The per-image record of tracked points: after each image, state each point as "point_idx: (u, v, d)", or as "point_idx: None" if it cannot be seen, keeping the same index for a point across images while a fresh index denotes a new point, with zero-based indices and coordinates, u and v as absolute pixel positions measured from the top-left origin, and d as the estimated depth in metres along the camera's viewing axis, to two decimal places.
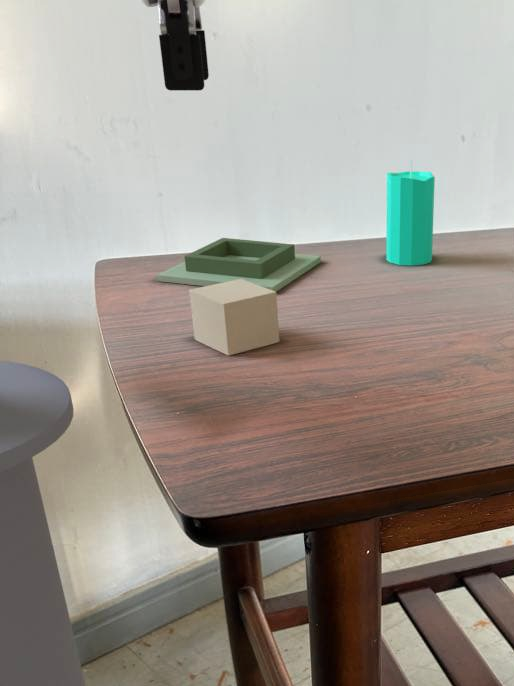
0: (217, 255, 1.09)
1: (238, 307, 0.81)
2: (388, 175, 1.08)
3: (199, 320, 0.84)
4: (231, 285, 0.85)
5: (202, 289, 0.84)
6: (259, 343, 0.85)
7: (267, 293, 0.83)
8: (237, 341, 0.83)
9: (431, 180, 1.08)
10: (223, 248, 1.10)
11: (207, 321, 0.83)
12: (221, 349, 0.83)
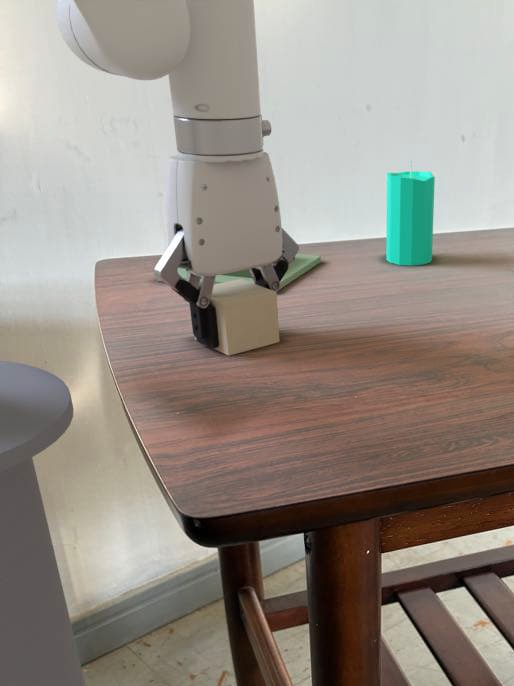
0: None
1: (239, 307, 0.81)
2: (388, 175, 1.08)
3: None
4: (232, 285, 0.85)
5: None
6: (259, 343, 0.85)
7: (267, 293, 0.83)
8: (237, 341, 0.83)
9: (431, 180, 1.08)
10: None
11: None
12: (221, 349, 0.83)
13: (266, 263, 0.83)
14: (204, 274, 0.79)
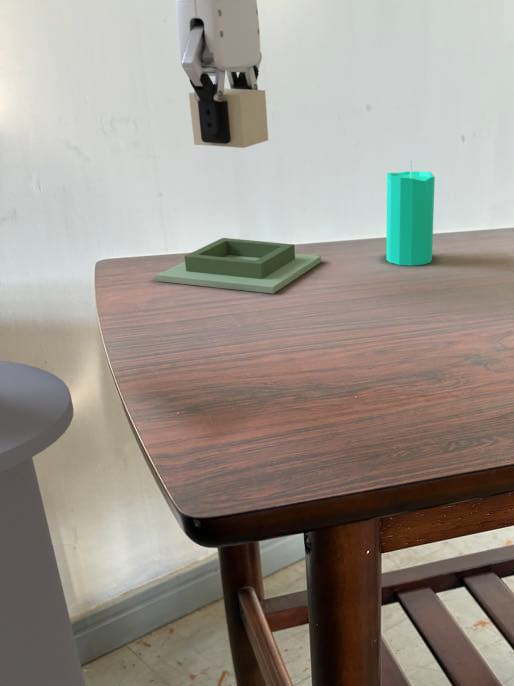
0: (217, 255, 1.09)
1: (247, 101, 0.92)
2: (388, 175, 1.08)
3: None
4: None
5: None
6: (258, 139, 0.95)
7: (259, 91, 0.94)
8: (247, 134, 0.93)
9: (431, 180, 1.08)
10: (223, 248, 1.10)
11: None
12: (234, 143, 0.93)
13: (253, 64, 0.94)
14: (222, 67, 0.88)
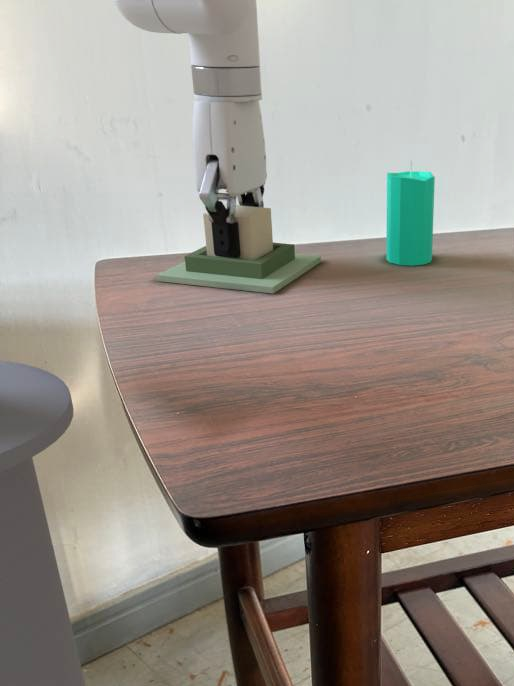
0: None
1: (255, 221, 1.03)
2: (388, 175, 1.08)
3: None
4: None
5: None
6: (265, 251, 1.06)
7: (266, 209, 1.05)
8: (256, 249, 1.04)
9: (431, 180, 1.08)
10: None
11: None
12: (243, 257, 1.04)
13: (260, 185, 1.05)
14: (234, 194, 0.99)
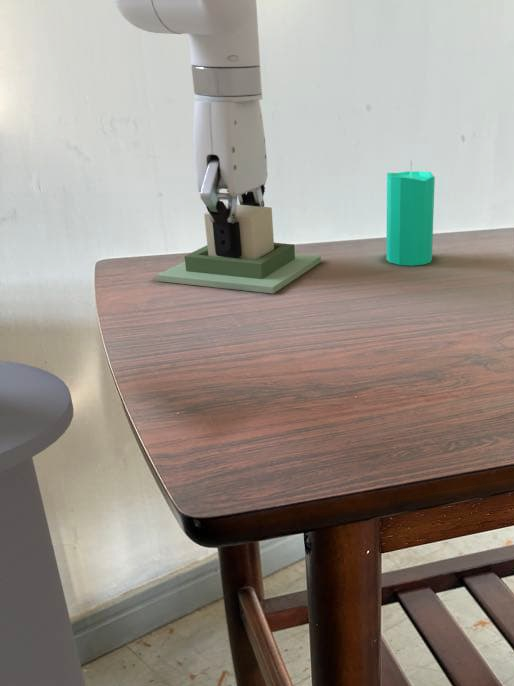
0: None
1: (256, 220, 1.03)
2: (388, 175, 1.08)
3: None
4: None
5: None
6: (266, 250, 1.07)
7: (267, 209, 1.05)
8: (257, 248, 1.04)
9: (431, 180, 1.08)
10: None
11: None
12: (244, 257, 1.04)
13: (260, 185, 1.05)
14: (234, 194, 0.99)
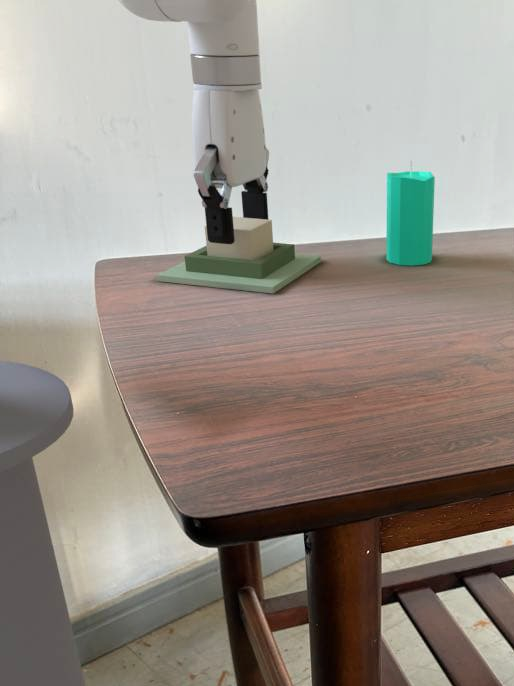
0: None
1: (257, 233, 1.03)
2: (388, 175, 1.08)
3: (217, 250, 1.04)
4: None
5: None
6: None
7: (267, 221, 1.06)
8: None
9: (431, 180, 1.08)
10: None
11: (227, 249, 1.04)
12: None
13: (259, 176, 1.04)
14: (233, 184, 0.99)
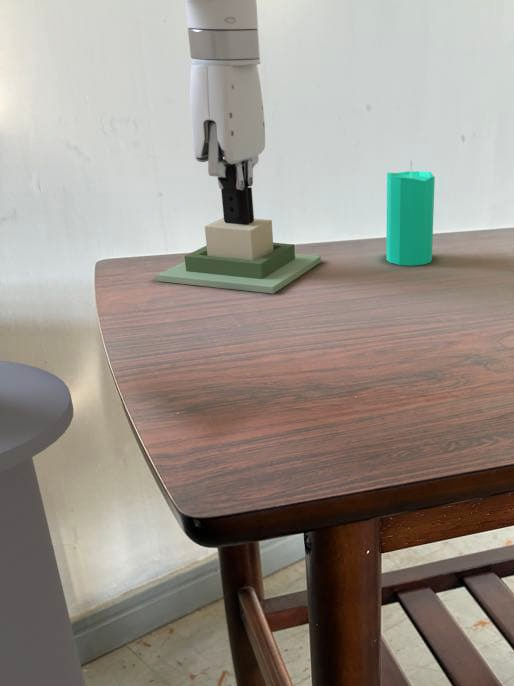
0: None
1: (257, 233, 1.03)
2: (388, 175, 1.08)
3: (217, 250, 1.04)
4: None
5: (214, 224, 1.04)
6: None
7: (267, 221, 1.06)
8: None
9: (431, 180, 1.08)
10: None
11: (227, 249, 1.04)
12: None
13: (258, 153, 1.03)
14: (232, 161, 0.97)
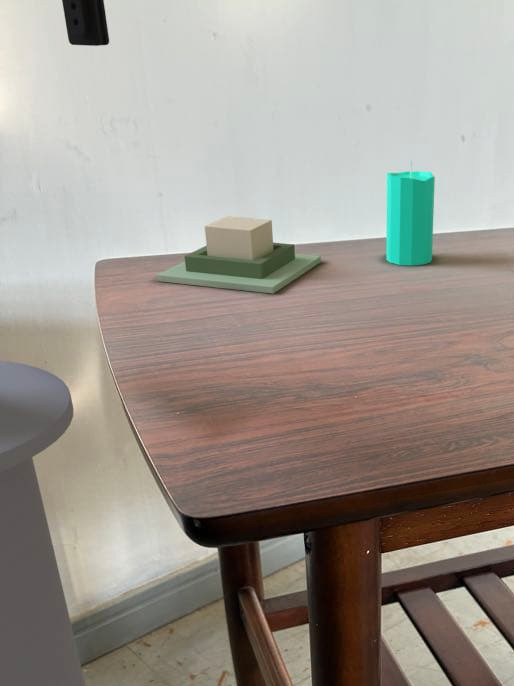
0: None
1: (257, 233, 1.03)
2: (388, 175, 1.08)
3: (217, 250, 1.04)
4: (230, 220, 1.06)
5: (214, 224, 1.04)
6: None
7: (267, 221, 1.06)
8: None
9: (431, 180, 1.08)
10: None
11: (227, 249, 1.04)
12: None
13: None
14: None
